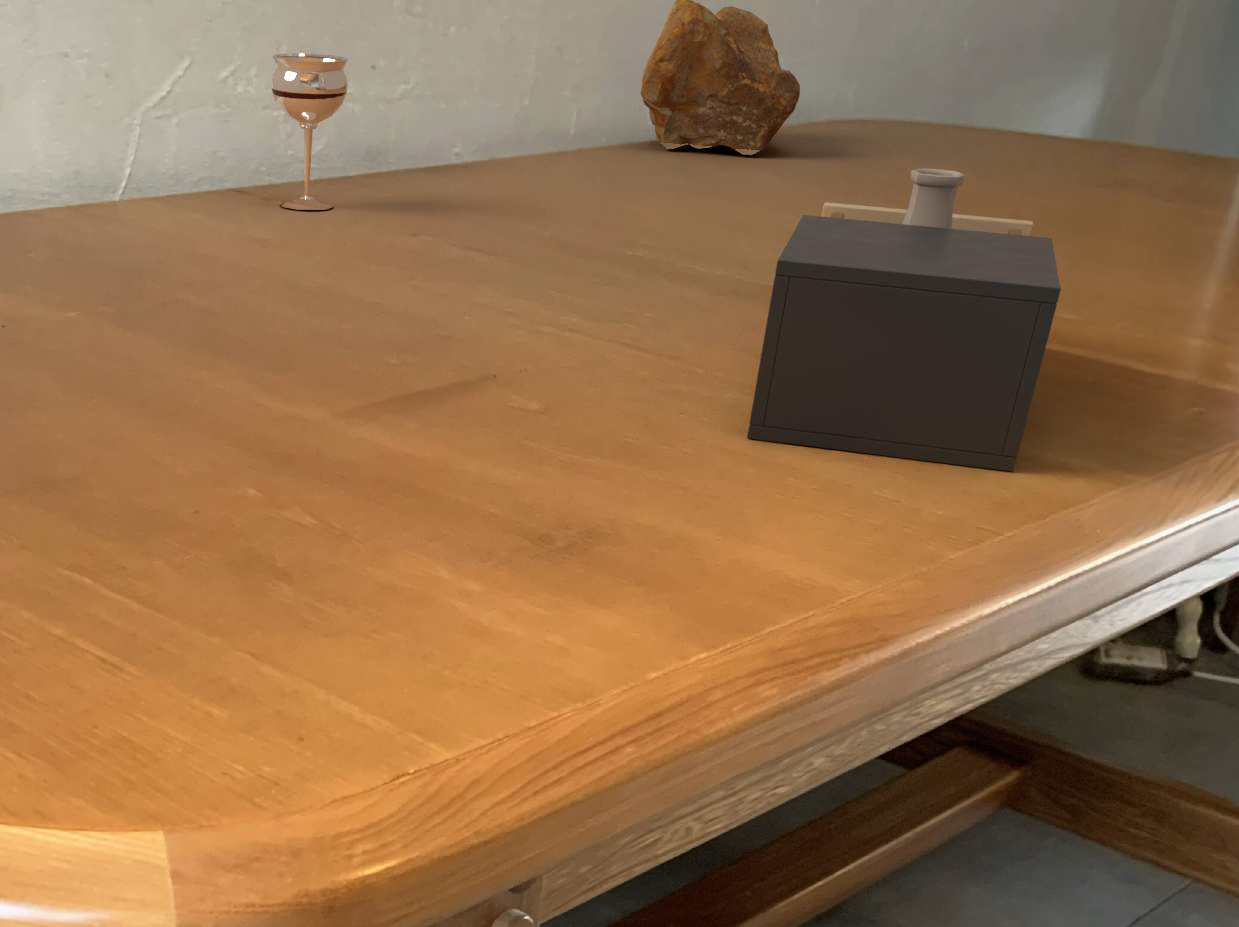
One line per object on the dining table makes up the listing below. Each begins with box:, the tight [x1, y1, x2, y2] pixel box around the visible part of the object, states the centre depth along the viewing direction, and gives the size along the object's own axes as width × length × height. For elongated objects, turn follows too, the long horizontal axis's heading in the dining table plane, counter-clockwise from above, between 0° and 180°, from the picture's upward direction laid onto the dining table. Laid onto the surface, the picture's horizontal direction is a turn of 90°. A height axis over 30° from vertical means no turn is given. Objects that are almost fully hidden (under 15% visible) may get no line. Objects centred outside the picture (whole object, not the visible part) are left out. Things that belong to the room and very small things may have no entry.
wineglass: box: [271, 52, 349, 200], centre depth 151 cm, size 7×7×12 cm
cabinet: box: [746, 214, 1062, 473], centre depth 98 cm, size 16×15×10 cm
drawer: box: [821, 201, 1034, 236], centre depth 110 cm, size 19×13×8 cm
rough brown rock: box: [640, 0, 801, 150], centre depth 193 cm, size 23×17×15 cm
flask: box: [902, 167, 966, 229], centre depth 107 cm, size 7×7×10 cm
